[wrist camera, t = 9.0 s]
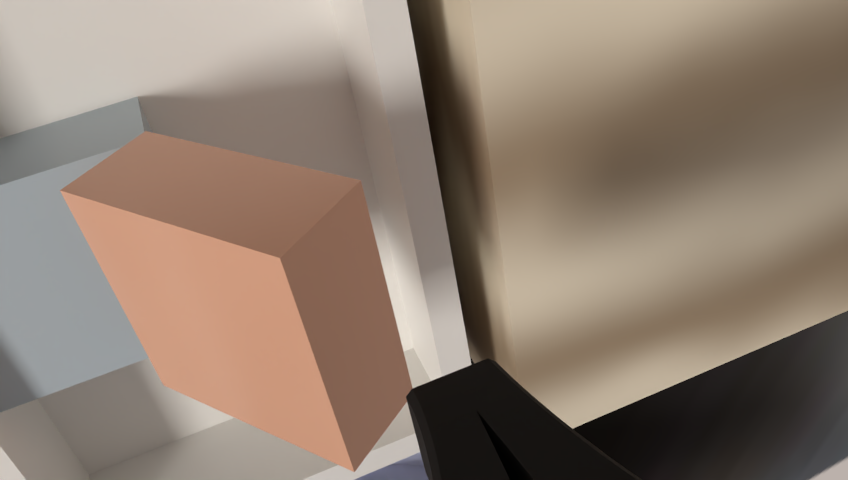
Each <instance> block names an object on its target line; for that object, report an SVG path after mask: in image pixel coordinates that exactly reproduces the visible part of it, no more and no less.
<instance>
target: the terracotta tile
mask: <svg viewBox="0 0 848 480" xmlns="http://www.w3.org/2000/svg"><path fill="white" fill-rule="evenodd" d="M60 192H61V194H62V195H63V197H64V199H65V201H66V203H67V205H68V207H69V209H70V211H71V212H72V214H73V216H74V218H75V220H76V222H77V224H78V226H79V227H80V229H81V231H82V233H83V235H84V237H85V239H86V241H87V242H88V244H89V246H90V248H91V250H92V252H93V254H94V256H95V258H96V259H97V261H98V263H99V265H100V267H101V269H102V271H103V273H104V274H105V276H106V278H107V280H108V282H109V284H110V286H111V288H112V289H113V291H114V293H115V295H116V297H117V299H118V301H119V303H120V305H121V306H122V308H123V310H124V312H125V314H126V316H127V318H128V320H129V321H130V323H131V325H132V327H133V329H134V331H135V333H136V335H137V336H138V338H139V340H140V342H141V344H142V346H143V348H144V350H145V352H146V353H147V355H148V357H149V359H150V361H151V363H152V365H153V367H154V368H155V370H156V372H157V374H158V376H159V378H160V380H161V382H162V383H163V385H164V386H166V387H168V388H171V389H173V390H175V391H177V392H179V393H182V394H184V395H186V396H188V397H190V398H193V399H195V400H197V401H199V402H201V403H204V404H206V405H208V406H210V407H212V408H214V409H217V410H219V411H221V412H223V413H225V414H228V415H230V416H232V417H234V418H236V419H239V420H241V421H243V422H245V423H247V424H250V425H252V426H254V427H256V428H258V429H261V430H263V431H265V432H267V433H269V434H272V435H274V436H276V437H278V438H280V439H283V440H285V441H287V442H289V443H291V444H294V445H296V446H298V447H300V448H302V449H305V450H307V451H309V452H311V453H313V454H316V455H318V456H320V457H322V458H324V459H326V460H329V461H331V462H333V463H335V464H337V465H340V466H342V467H344V468H346V469H348V470H351V471H353V472H355V471H356V470H357V468H358V467H359V466H360V464H361V463H362V462H363V460H364V459H365V458H366V456H367V455H368V453H369V452H370V451H371V449H372V448H373V447H374V445H375V444H376V443H377V441H378V440H379V439H380V437H381V436H382V435H383V433H384V432H385V431H386V429H387V428H388V427H389V425H390V424H391V423H392V421H393V420H394V419H395V417H396V416H397V414H398V413H399V412H400V410H401V409H402V408H403V406H404V405H405V404H406V402H407V399H406V396H407V395H408V393H409V392H410V391H411V389H412V384H411V380H410V376H409V372H408V368H407V364H406V360H405V356H404V352H403V348H402V344H401V340H400V336H399V332H398V327H397V323H396V319H395V315H394V311H393V307H392V303H391V299H390V295H389V291H388V287H387V283H386V279H385V275H384V271H383V267H382V263H381V259H380V255H379V251H378V247H377V243H376V239H375V235H374V231H373V227H372V223H371V219H370V215H369V211H368V207H367V203H366V199H365V195H364V191H363V187H362V183H361V180H357V179H353V178H349V177H344V176H340V175H336V174H331V173H327V172H322V171H318V170H314V169H309V168H305V167H301V166H296V165H292V164H288V163H283V162H279V161H274V160H270V159H266V158H261V157H257V156H253V155H248V154H244V153H240V152H235V151H231V150H226V149H222V148H218V147H213V146H209V145H205V144H200V143H196V142H192V141H187V140H183V139H178V138H174V137H170V136H165V135H161V134H157V133H152V132H148V131H145V132H143V133H142V134H140V135H139V136H138V137H136V138H135V139H133V140H132V141H130V142H129V143H127V144H126V145H125V146H123V147H122V148H120V149H119V150H117V151H116V152H114V153H113V154H112V155H110V156H109V157H107V158H106V159H104V160H103V161H101V162H100V163H99V164H97V165H96V166H94V167H93V168H91V169H90V170H88V171H87V172H86V173H84V174H83V175H81V176H80V177H78V178H77V179H75V180H74V181H73V182H71V183H70V184H68V185H67V186H65V187H64V188H62V189H61V190H60Z"/></svg>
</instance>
